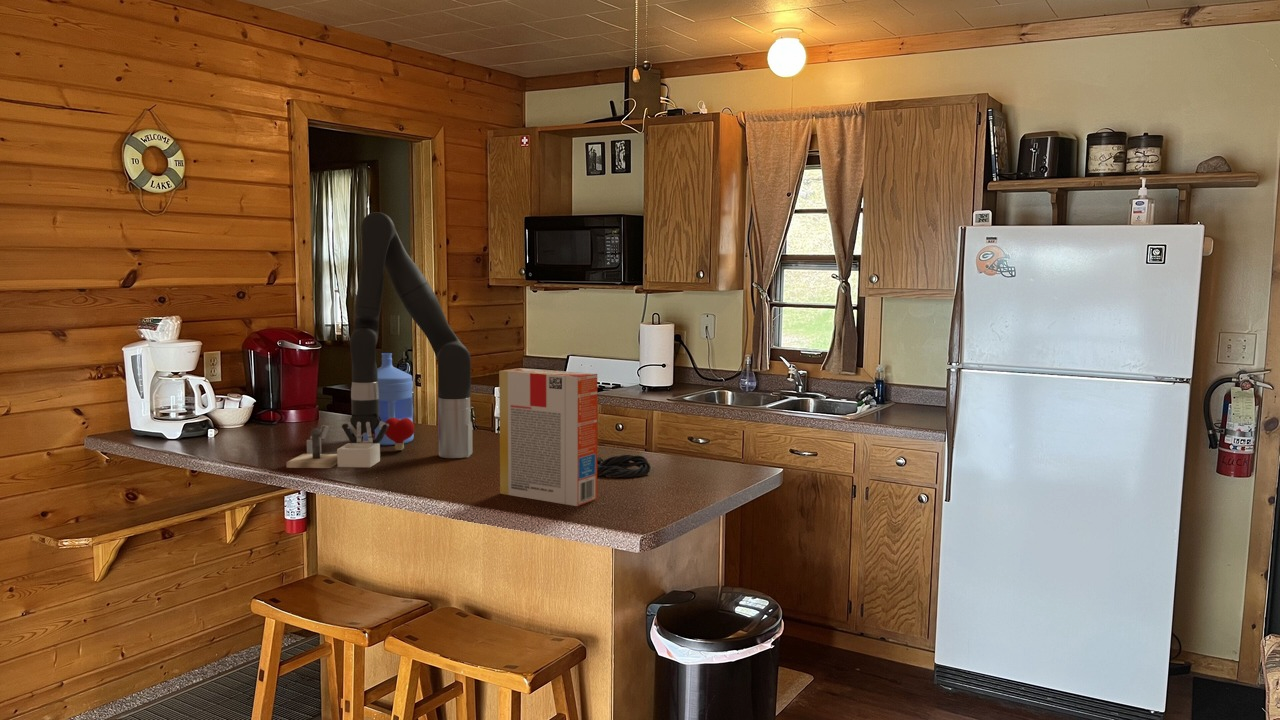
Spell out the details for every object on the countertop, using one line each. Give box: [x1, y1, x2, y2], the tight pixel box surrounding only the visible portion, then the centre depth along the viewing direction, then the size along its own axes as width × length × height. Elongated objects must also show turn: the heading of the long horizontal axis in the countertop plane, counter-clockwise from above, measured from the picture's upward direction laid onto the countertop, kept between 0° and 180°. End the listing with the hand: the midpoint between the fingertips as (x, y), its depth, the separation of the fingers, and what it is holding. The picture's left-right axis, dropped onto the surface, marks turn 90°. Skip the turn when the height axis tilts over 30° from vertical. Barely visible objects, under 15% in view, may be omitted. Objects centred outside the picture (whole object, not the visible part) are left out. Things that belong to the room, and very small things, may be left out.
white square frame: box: [336, 441, 381, 468], centre depth 260 cm, size 9×12×5 cm
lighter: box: [306, 424, 330, 454], centre depth 273 cm, size 7×2×8 cm, turn 150°
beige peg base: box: [286, 428, 338, 469], centre depth 258 cm, size 12×12×10 cm
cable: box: [597, 454, 651, 479], centre depth 249 cm, size 17×14×4 cm
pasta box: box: [498, 367, 598, 507], centre depth 221 cm, size 23×8×30 cm, turn 59°
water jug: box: [363, 352, 415, 446], centre depth 292 cm, size 16×16×28 cm
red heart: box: [385, 418, 416, 452], centre depth 277 cm, size 9×7×10 cm
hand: (366, 457), depth 265 cm, fingers closed on white square frame
